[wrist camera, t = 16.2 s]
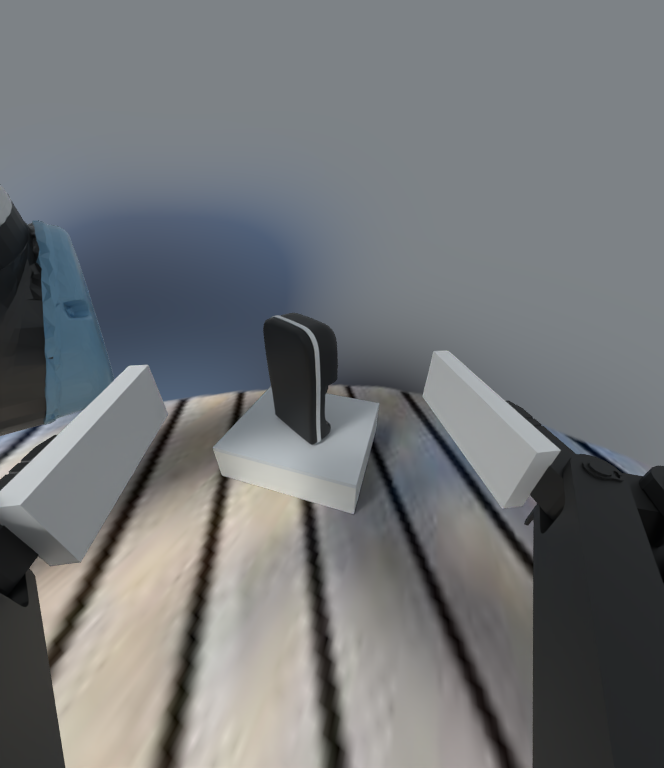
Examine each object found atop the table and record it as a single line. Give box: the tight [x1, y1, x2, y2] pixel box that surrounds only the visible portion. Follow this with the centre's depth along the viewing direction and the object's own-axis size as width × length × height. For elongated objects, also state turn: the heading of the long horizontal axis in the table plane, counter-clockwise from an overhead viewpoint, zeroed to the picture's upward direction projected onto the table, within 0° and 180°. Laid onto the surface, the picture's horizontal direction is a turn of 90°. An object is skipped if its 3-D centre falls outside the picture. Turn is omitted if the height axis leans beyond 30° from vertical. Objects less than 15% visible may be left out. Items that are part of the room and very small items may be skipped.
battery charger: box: [263, 313, 338, 445], centre depth 25 cm, size 7×4×11 cm, turn 43°
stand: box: [213, 387, 379, 514], centre depth 30 cm, size 14×12×4 cm
